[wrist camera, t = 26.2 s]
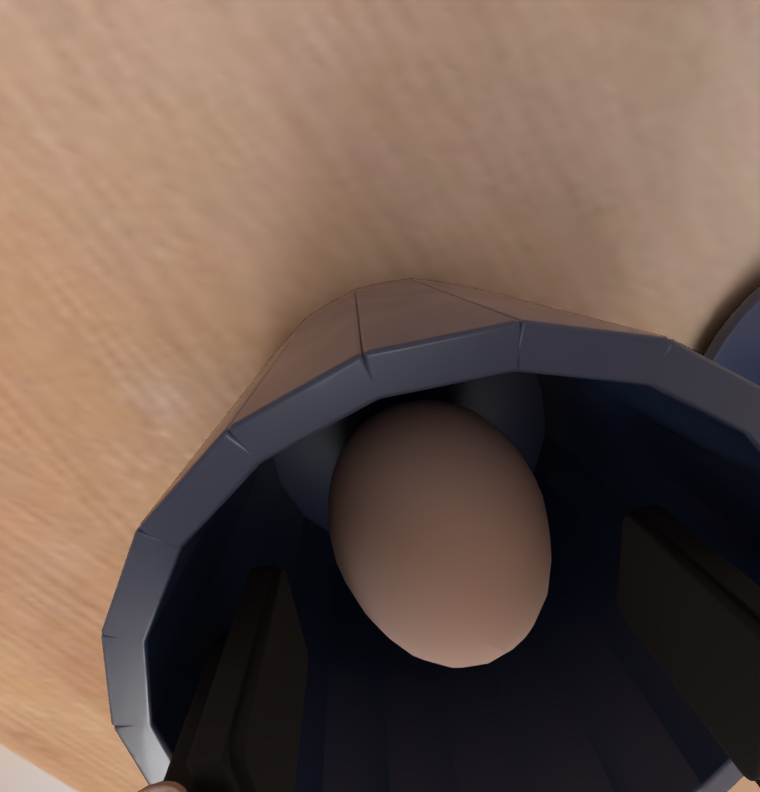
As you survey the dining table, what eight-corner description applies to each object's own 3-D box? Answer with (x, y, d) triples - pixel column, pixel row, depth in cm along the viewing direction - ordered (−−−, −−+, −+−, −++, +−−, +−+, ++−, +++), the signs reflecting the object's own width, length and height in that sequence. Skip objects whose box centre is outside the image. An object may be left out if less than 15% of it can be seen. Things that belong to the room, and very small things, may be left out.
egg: (490, 370, 17) (665, 496, 8) (477, 509, 19) (602, 736, 10) (328, 373, 17) (312, 514, 7) (332, 516, 19) (326, 764, 9)
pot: (482, 213, 16) (786, 114, 5) (593, 478, 20) (890, 749, 9) (191, 382, 17) (-93, 606, 6) (354, 596, 21) (357, 956, 10)
